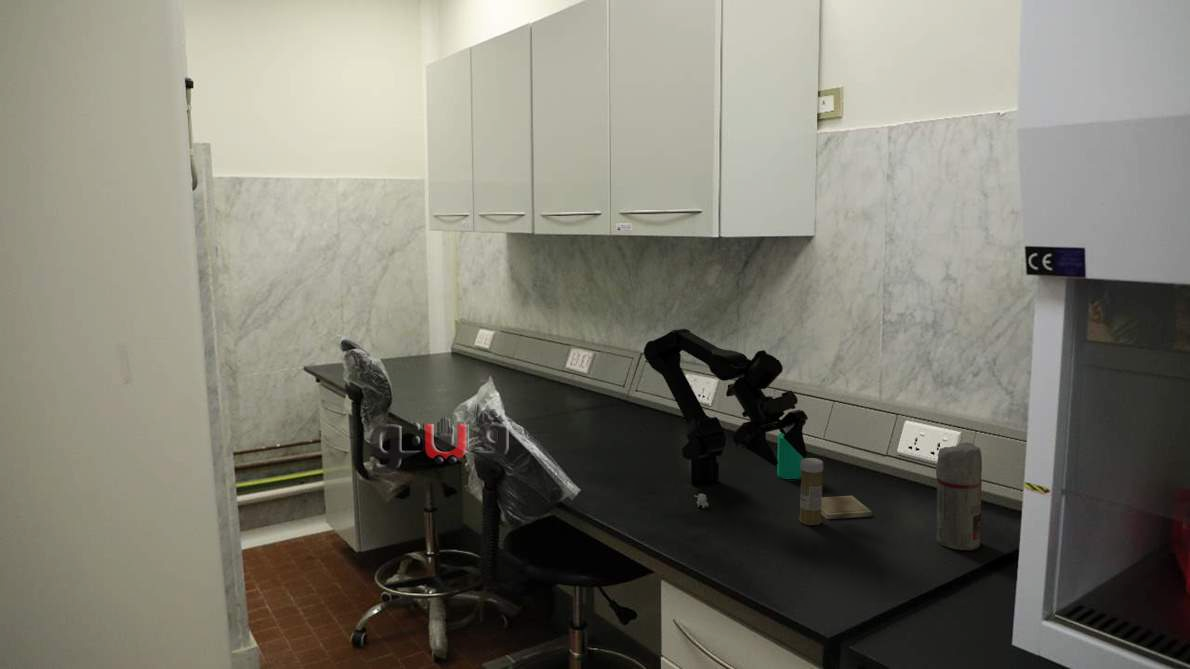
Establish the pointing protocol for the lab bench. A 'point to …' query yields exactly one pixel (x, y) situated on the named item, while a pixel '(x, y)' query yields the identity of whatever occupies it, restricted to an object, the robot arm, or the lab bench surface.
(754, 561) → the lab bench surface
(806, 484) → the sprinkles bottle
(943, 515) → the spray can
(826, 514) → the rest pad
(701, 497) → the small grey figurine
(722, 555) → the lab bench surface
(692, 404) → the robot arm
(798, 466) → the candle
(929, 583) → the lab bench surface
